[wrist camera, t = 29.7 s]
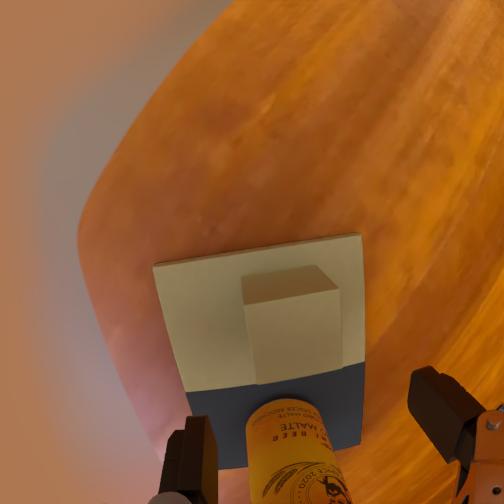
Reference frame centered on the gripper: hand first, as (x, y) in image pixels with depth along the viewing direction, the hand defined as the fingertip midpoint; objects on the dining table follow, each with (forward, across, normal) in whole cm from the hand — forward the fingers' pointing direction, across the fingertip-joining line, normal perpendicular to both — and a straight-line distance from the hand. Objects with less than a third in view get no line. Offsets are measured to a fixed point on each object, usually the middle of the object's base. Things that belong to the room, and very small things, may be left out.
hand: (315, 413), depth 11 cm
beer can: (+11, 0, +10) cm, 15 cm away
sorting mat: (+12, +1, +6) cm, 13 cm away
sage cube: (+11, 0, 0) cm, 11 cm away
